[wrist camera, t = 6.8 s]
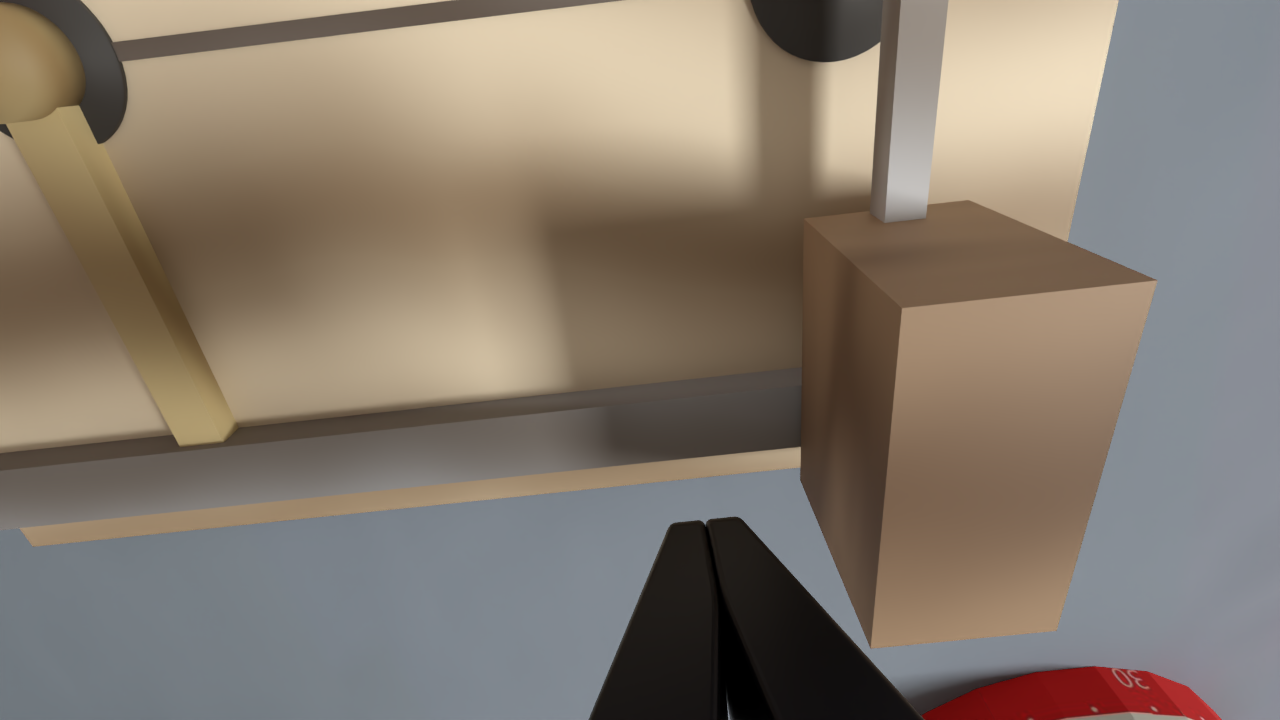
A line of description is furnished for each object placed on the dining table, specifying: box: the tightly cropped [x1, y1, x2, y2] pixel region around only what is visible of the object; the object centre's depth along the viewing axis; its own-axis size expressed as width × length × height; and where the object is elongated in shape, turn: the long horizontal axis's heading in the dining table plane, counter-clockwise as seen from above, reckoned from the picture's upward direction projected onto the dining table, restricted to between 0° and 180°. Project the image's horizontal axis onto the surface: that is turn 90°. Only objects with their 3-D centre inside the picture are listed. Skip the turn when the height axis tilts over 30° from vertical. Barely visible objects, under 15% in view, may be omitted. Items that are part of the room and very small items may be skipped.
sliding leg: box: [800, 0, 1157, 648], centre depth 10 cm, size 11×3×5 cm, turn 6°
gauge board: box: [0, 0, 1119, 547], centre depth 12 cm, size 13×25×2 cm, turn 96°
